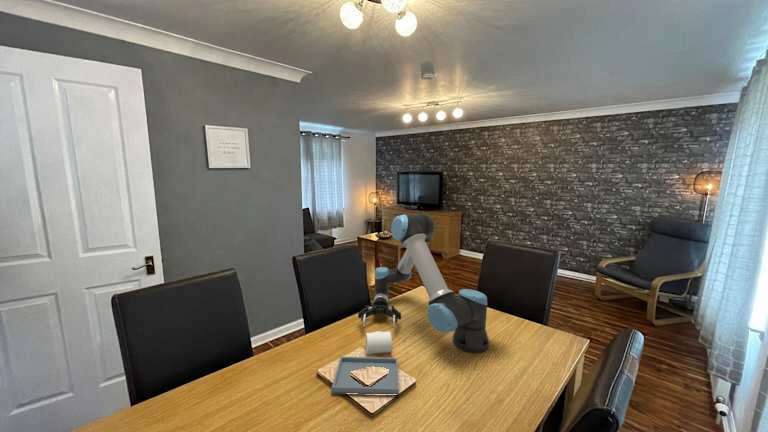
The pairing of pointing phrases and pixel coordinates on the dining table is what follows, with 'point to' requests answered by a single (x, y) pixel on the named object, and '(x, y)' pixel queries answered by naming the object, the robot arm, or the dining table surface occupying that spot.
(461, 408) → the dining table surface
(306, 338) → the dining table surface
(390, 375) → the tray
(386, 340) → the mug
